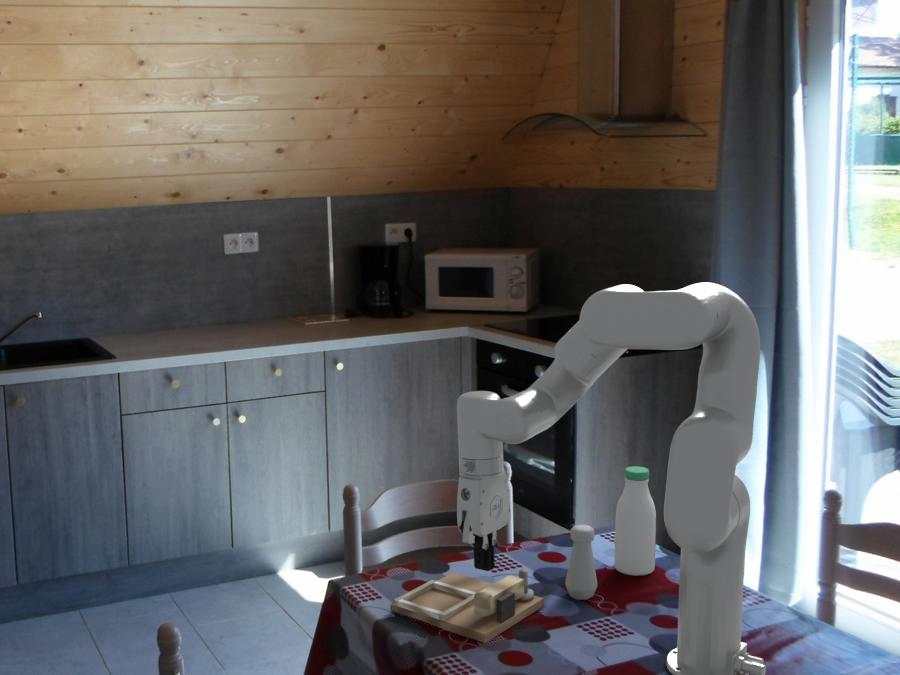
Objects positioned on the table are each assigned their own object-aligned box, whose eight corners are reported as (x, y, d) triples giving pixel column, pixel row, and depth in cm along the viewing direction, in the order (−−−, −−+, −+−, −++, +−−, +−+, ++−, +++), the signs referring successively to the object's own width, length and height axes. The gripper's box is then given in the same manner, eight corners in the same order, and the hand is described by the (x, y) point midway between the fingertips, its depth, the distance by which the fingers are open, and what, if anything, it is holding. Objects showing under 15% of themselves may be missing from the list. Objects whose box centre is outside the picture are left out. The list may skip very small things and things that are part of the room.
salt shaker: (562, 599, 191) (563, 530, 189) (568, 587, 196) (569, 520, 194) (594, 603, 189) (595, 533, 187) (599, 591, 195) (601, 523, 192)
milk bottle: (654, 578, 200) (657, 476, 197) (613, 575, 202) (615, 473, 199) (655, 563, 208) (657, 464, 205) (615, 560, 209) (617, 462, 206)
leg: (509, 591, 187) (510, 575, 187) (524, 595, 185) (524, 579, 185) (470, 613, 178) (470, 596, 178) (485, 617, 176) (485, 600, 176)
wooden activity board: (543, 606, 188) (544, 571, 187) (485, 642, 174) (485, 605, 173) (453, 579, 200) (453, 547, 199) (391, 612, 186) (391, 577, 185)
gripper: (474, 478, 171) (477, 587, 174) (523, 457, 183) (526, 559, 186) (436, 472, 176) (441, 578, 179) (487, 452, 188) (490, 551, 190)
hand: (484, 568), depth 182 cm, fingers closed
